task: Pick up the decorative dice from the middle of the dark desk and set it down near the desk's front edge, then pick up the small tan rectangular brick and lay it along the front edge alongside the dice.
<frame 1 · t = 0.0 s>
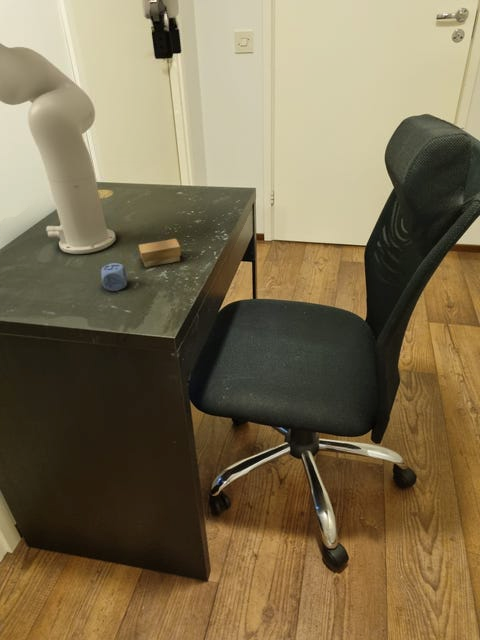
hand: (168, 55, 86), 37 cm above the table, tool pointing down, fingers open, 9 cm apart
tan rectangular brick: (161, 260, 99), on the table
decorative dice: (116, 287, 91), on the table
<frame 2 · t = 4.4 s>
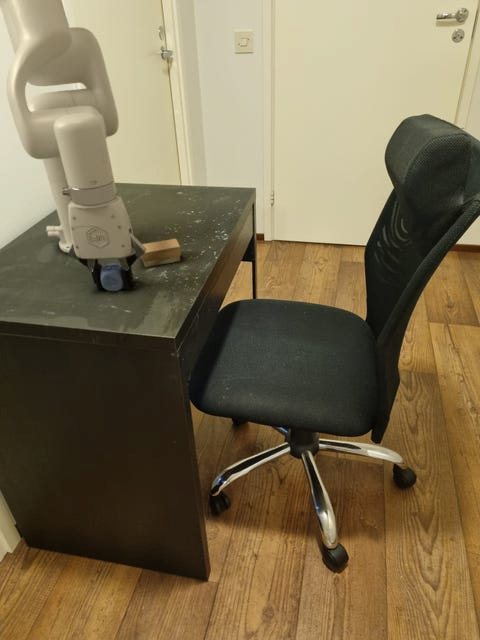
hand: (114, 285, 90), 0 cm above the table, tool pointing down, fingers closed on decorative dice, 4 cm apart
decorative dice: (115, 287, 91), on the table, touching gripper
everything else where it was.
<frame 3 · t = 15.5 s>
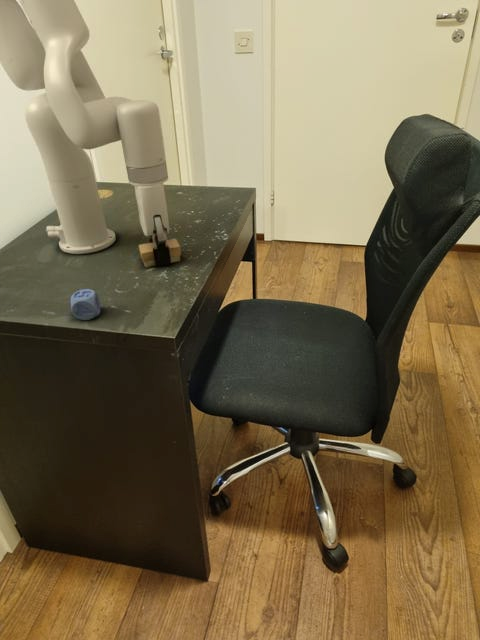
hand: (161, 258, 99), 0 cm above the table, tool pointing down, fingers closed on tan rectangular brick, 4 cm apart
tan rectangular brick: (161, 260, 99), on the table, touching gripper
decorative dice: (88, 315, 83), on the table
when the fingers open (0 cm above the table, at t = 22.0 s): tan rectangular brick stays where it is, on the table.
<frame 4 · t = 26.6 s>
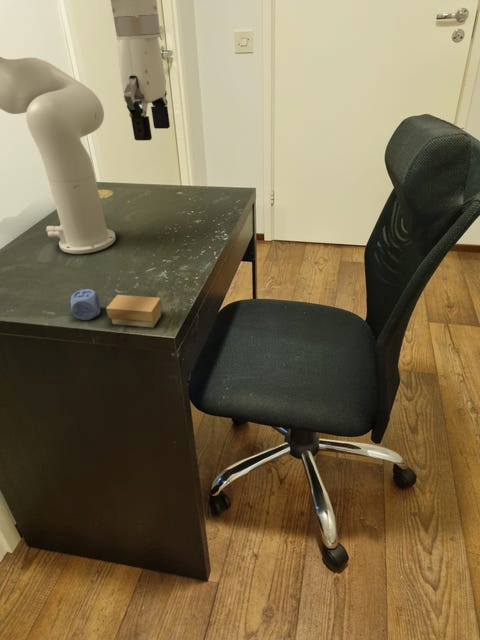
hand: (153, 133, 90), 24 cm above the table, tool pointing down, fingers open, 9 cm apart
tan rectangular brick: (137, 319, 80), on the table
everything else where it was.
at the end: decorative dice 0.8 cm from the target spot, on the table; tan rectangular brick 0.2 cm from the target spot, on the table; tan rectangular brick tilted 0° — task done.
